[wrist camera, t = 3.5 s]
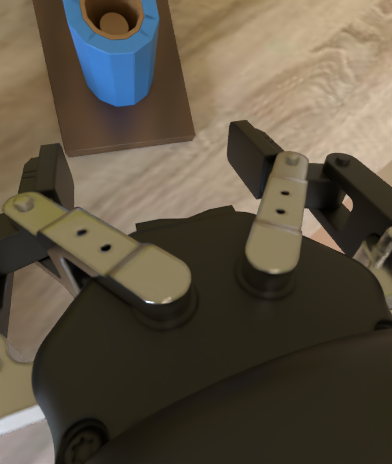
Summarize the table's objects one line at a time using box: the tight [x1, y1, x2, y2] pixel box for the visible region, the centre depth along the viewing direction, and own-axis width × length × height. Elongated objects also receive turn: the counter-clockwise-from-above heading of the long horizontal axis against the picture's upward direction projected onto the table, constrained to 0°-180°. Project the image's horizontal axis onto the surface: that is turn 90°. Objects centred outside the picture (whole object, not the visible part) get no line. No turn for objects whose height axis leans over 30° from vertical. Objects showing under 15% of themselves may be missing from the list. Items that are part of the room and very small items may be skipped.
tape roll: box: [63, 0, 160, 107], centre depth 22 cm, size 6×6×8 cm
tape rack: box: [33, 0, 195, 157], centre depth 24 cm, size 12×22×8 cm, turn 11°
